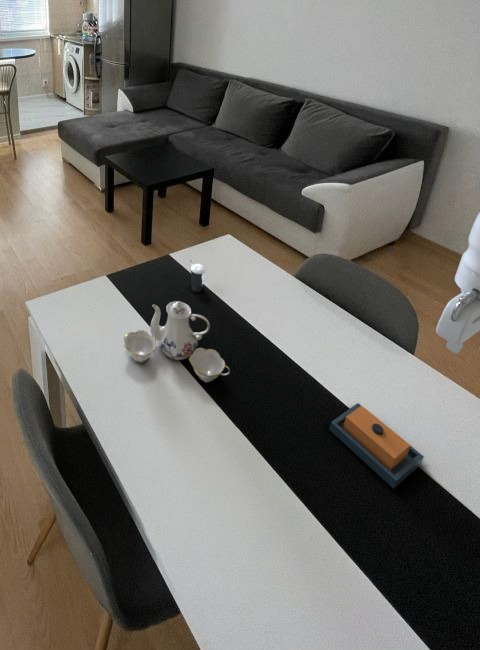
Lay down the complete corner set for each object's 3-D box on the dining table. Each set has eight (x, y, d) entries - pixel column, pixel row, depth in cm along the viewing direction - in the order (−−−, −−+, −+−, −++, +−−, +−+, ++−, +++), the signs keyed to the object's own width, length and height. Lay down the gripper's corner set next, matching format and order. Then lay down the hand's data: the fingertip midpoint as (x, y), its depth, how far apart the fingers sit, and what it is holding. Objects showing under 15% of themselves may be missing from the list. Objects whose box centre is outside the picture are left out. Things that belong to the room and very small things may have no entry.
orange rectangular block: (406, 457, 88) (411, 442, 87) (390, 471, 86) (395, 456, 84) (358, 417, 97) (362, 402, 95) (342, 429, 95) (346, 414, 93)
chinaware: (118, 372, 114) (115, 330, 106) (130, 322, 128) (128, 281, 120) (228, 397, 106) (234, 353, 98) (228, 341, 119) (233, 298, 112)
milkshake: (193, 281, 143) (194, 256, 140) (206, 289, 140) (208, 264, 136) (184, 287, 141) (186, 262, 137) (198, 295, 137) (200, 270, 133)
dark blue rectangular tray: (421, 464, 88) (424, 456, 87) (393, 489, 84) (396, 481, 83) (355, 410, 99) (357, 402, 98) (328, 429, 96) (330, 422, 95)
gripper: (481, 313, 69) (457, 375, 75) (538, 272, 78) (513, 330, 83) (436, 290, 75) (417, 349, 80) (494, 254, 83) (473, 310, 88)
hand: (466, 339), depth 81 cm, fingers open, 8 cm apart
